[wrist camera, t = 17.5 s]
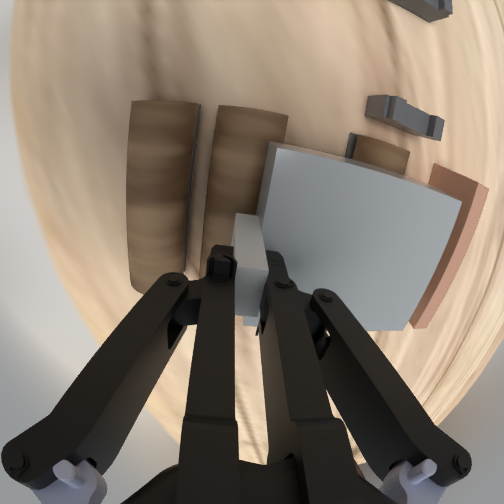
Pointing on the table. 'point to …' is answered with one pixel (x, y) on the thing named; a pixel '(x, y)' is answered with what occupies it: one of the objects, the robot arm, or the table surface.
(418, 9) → the rack
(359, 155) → the roller
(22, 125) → the table surface
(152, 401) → the table surface
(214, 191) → the roller
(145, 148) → the roller
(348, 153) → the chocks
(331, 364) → the robot arm
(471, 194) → the block
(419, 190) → the slab
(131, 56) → the table surface
